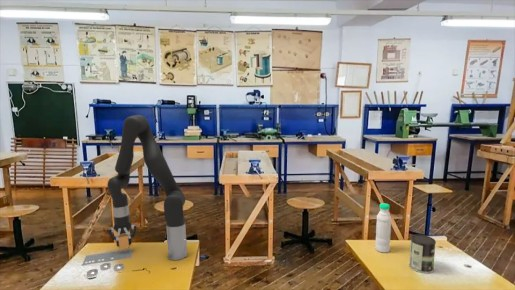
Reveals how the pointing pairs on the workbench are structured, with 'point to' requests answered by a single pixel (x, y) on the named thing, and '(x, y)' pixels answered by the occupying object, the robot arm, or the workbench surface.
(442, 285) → the workbench surface
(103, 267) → the steel cylinder
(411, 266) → the coffee can
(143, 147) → the robot arm
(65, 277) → the workbench surface
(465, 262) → the workbench surface
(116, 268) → the steel cylinder
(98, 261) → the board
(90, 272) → the steel cylinder
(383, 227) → the water bottle
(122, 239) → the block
